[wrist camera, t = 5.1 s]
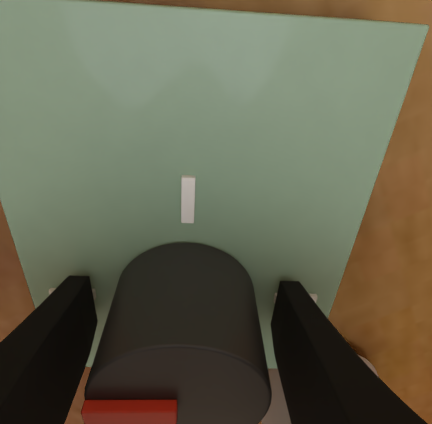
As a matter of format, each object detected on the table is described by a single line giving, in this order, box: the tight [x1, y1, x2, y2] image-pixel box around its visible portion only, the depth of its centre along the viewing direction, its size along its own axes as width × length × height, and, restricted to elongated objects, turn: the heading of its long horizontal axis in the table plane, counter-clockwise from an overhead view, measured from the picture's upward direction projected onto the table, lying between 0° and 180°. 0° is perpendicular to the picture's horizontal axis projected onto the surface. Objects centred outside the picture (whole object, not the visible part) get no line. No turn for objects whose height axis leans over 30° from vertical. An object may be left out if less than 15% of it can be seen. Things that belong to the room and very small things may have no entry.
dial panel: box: [0, 0, 429, 369], centre depth 11 cm, size 12×10×3 cm
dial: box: [81, 242, 272, 424], centre depth 9 cm, size 4×4×4 cm
